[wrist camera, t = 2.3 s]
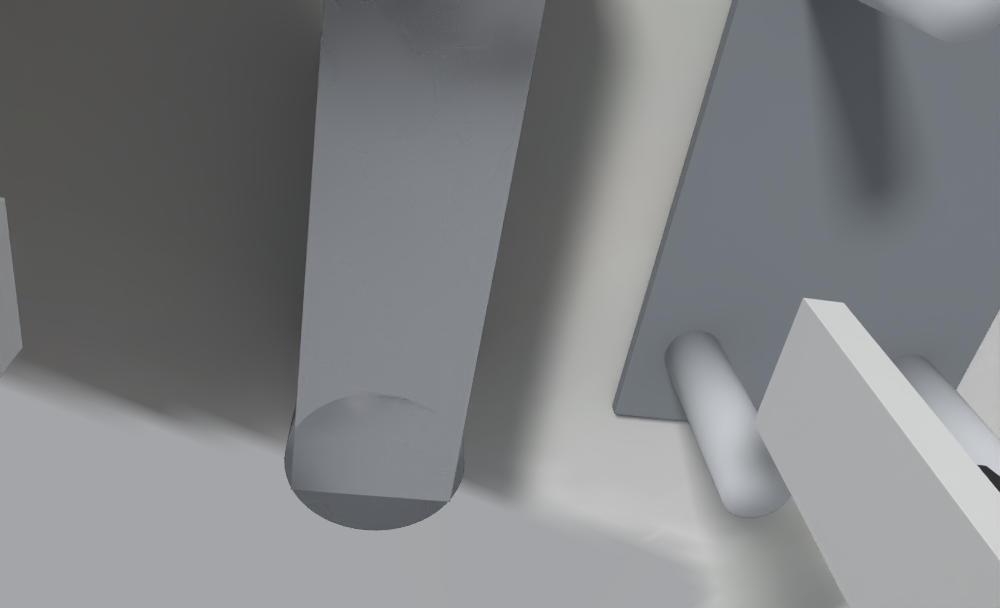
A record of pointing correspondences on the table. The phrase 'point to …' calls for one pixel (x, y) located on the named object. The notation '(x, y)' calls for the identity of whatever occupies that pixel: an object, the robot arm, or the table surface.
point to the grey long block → (403, 246)
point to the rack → (827, 218)
